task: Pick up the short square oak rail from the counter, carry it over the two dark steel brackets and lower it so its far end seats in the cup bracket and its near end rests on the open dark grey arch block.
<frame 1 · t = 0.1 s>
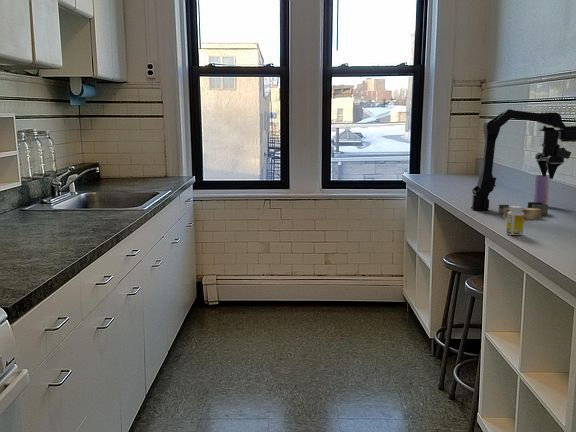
hand: (547, 177, 253), 15 cm above the countertop, fingers open, 9 cm apart
rail: (521, 218, 240), on the countertop
beverage can: (540, 206, 268), on the countertop
dark grey arch block: (505, 213, 249), on the countertop
bracket: (535, 213, 248), on the countertop
supplement bottle: (514, 235, 208), on the countertop
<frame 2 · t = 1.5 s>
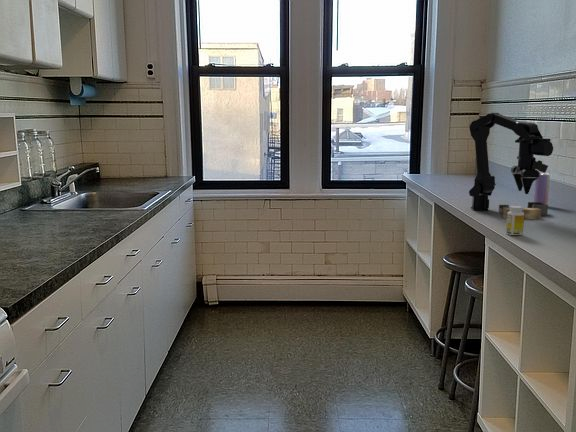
hand: (523, 192, 238), 11 cm above the countertop, fingers open, 9 cm apart
nothing on the countertop moved.
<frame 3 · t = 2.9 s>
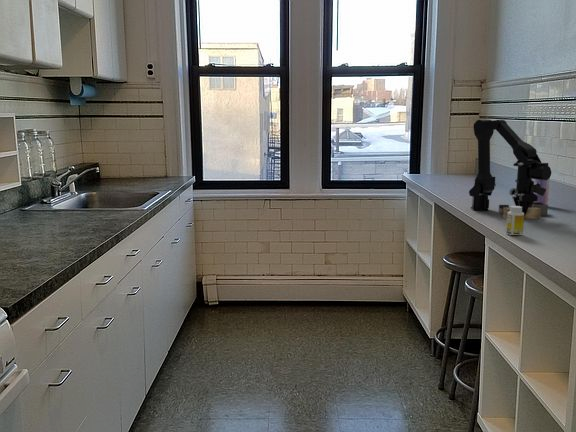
hand: (521, 215, 240), 1 cm above the countertop, fingers closed on rail, 4 cm apart
rail: (521, 218, 240), on the countertop, touching gripper
everything else where it was.
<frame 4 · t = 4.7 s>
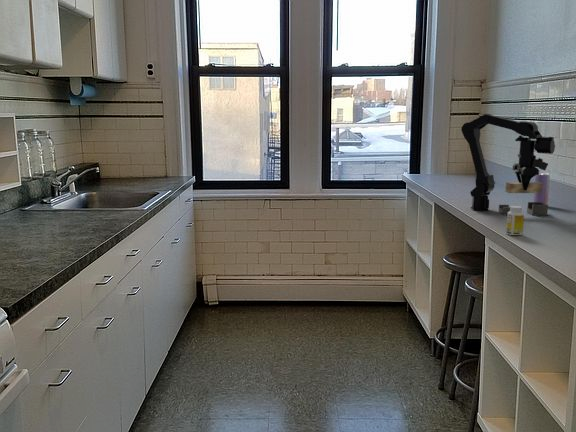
hand: (523, 189, 245), 11 cm above the countertop, fingers closed on rail, 4 cm apart
rail: (523, 192, 245), point 10 cm above the countertop, touching gripper
everything else where it was.
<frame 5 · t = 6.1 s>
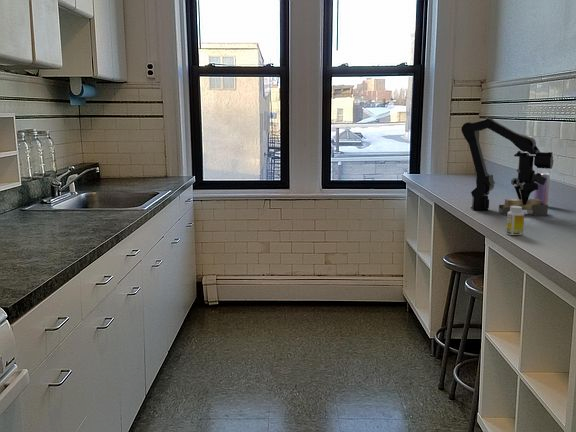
hand: (523, 203, 248), 4 cm above the countertop, fingers closed on rail, 4 cm apart
rail: (522, 209, 248), point 2 cm above the countertop, touching bracket, gripper, dark grey arch block
everything else where it was.
when the fingers open (4 cm above the countertop, at t = 6.5 s): rail stays where it is, resting on bracket, dark grey arch block.
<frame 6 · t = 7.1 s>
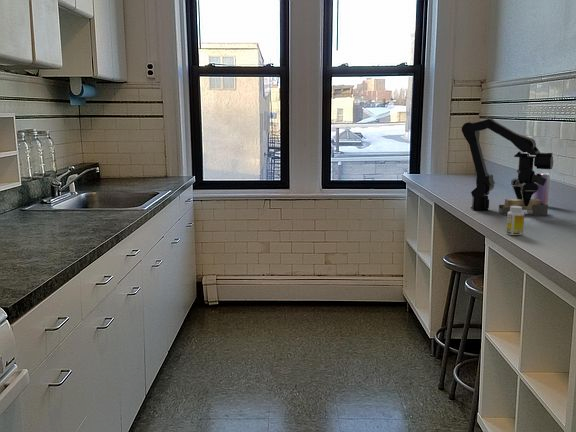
hand: (523, 204, 248), 4 cm above the countertop, fingers open, 9 cm apart
rail: (522, 209, 248), point 2 cm above the countertop, touching bracket, dark grey arch block
everything else where it was.
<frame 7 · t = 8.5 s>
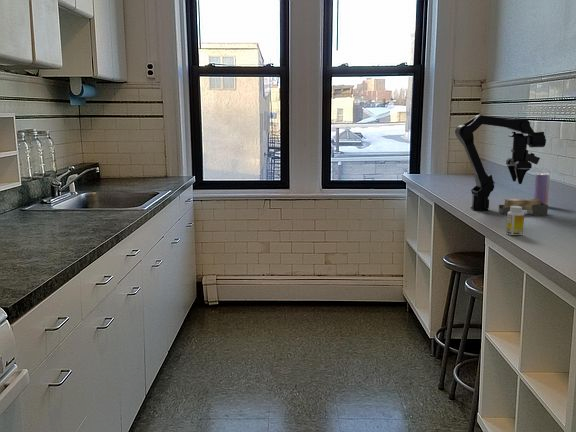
hand: (517, 182, 257), 12 cm above the countertop, fingers open, 9 cm apart
nothing on the countertop moved.
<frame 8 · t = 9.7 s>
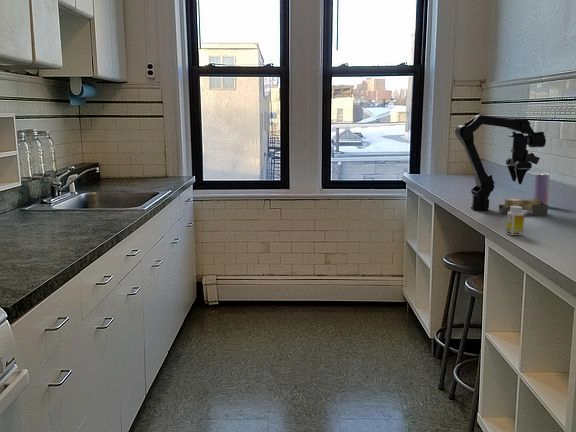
hand: (517, 182, 257), 12 cm above the countertop, fingers open, 9 cm apart
nothing on the countertop moved.
at the end: rail 0.3 cm from the target spot, point 2.0 cm above the countertop; rail touching bracket, dark grey arch block; rail tilted 0° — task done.
